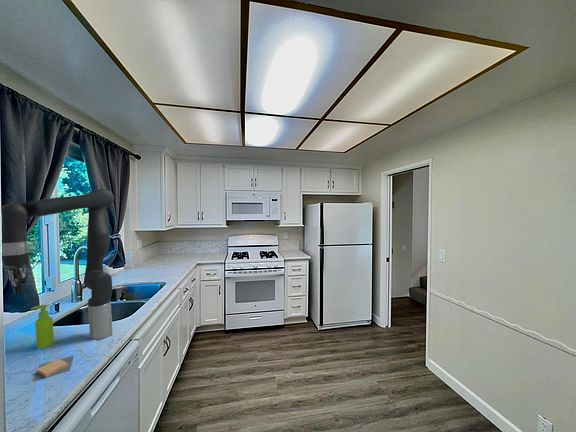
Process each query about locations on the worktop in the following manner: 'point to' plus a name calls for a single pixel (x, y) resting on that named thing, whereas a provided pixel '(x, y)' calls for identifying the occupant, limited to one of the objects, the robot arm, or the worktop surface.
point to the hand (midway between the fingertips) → (18, 294)
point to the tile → (52, 367)
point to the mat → (67, 360)
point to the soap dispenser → (44, 328)
